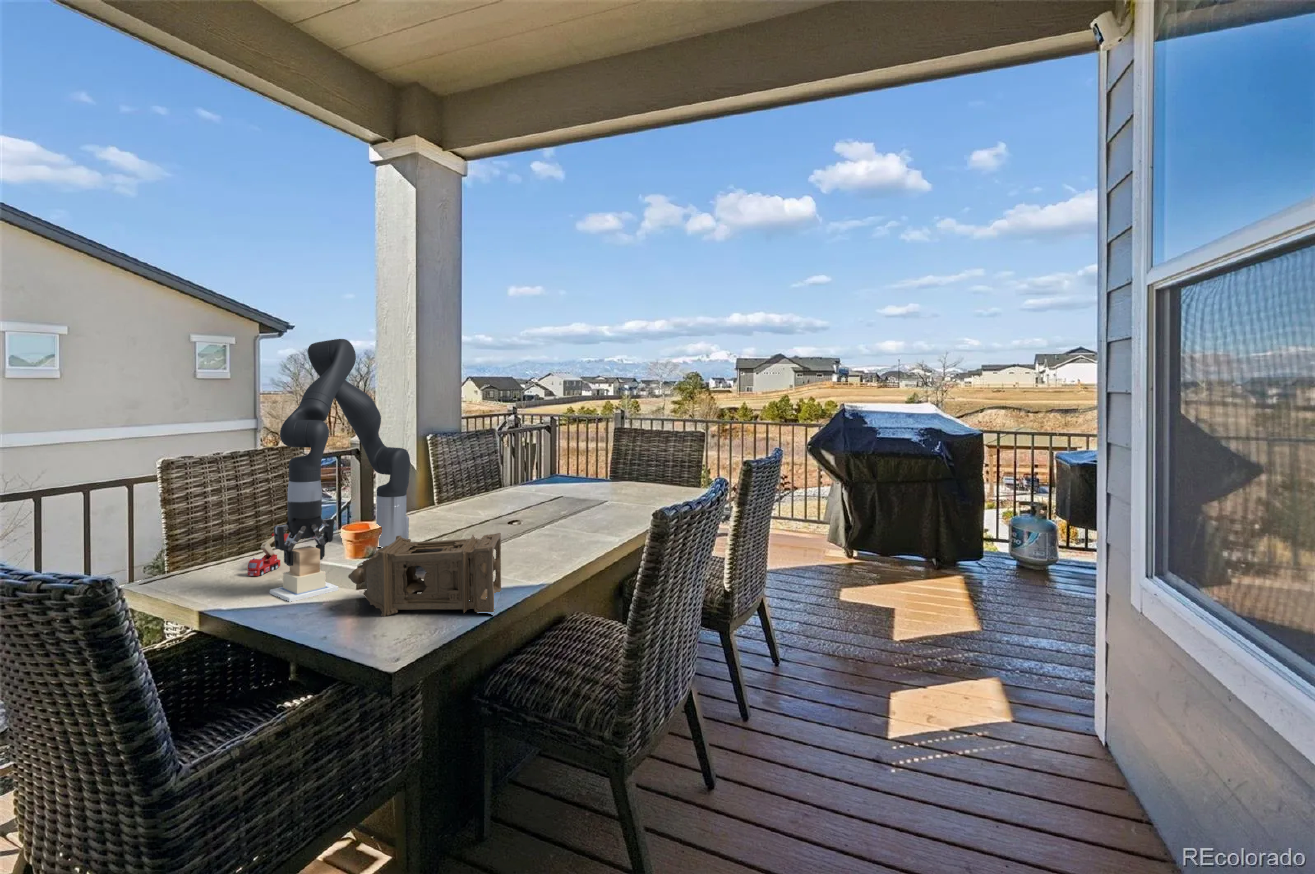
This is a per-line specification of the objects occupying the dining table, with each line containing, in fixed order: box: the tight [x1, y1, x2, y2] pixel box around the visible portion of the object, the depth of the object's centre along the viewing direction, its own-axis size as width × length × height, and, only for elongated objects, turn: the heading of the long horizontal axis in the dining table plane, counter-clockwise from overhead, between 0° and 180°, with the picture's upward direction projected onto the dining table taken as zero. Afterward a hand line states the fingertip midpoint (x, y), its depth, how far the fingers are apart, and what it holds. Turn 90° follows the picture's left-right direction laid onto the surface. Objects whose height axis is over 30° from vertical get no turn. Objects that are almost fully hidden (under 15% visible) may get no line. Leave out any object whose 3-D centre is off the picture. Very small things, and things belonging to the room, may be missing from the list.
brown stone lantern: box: [347, 532, 502, 618], centre depth 148 cm, size 35×18×18 cm, turn 97°
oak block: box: [289, 545, 321, 576], centre depth 154 cm, size 5×5×6 cm
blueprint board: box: [269, 569, 339, 603], centre depth 155 cm, size 12×10×5 cm
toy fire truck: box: [247, 532, 289, 577], centre depth 171 cm, size 3×14×10 cm, turn 179°
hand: (304, 562), depth 154 cm, fingers open, 6 cm apart
